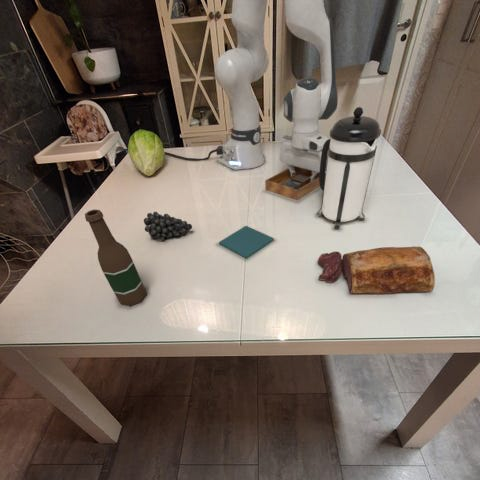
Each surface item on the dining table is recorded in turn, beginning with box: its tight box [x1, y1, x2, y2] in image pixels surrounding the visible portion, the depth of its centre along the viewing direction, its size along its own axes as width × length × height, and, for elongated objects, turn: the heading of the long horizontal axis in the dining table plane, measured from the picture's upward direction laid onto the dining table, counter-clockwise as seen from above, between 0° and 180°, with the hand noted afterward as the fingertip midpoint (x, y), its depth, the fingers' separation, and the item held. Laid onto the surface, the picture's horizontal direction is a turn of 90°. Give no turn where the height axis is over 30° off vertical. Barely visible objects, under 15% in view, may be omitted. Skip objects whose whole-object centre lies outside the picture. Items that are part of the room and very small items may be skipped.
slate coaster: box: [281, 180, 301, 190], centre depth 111 cm, size 6×6×2 cm
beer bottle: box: [84, 208, 148, 307], centre depth 70 cm, size 8×8×24 cm
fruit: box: [143, 211, 193, 242], centre depth 95 cm, size 9×8×15 cm
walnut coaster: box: [290, 173, 311, 187], centre depth 114 cm, size 6×6×2 cm
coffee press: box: [316, 106, 382, 230], centre depth 86 cm, size 17×16×30 cm
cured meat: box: [317, 246, 436, 295], centre depth 75 cm, size 18×25×7 cm
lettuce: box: [127, 128, 166, 177], centre depth 136 cm, size 15×24×16 cm
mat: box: [218, 225, 275, 259], centre depth 91 cm, size 12×12×1 cm
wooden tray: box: [264, 166, 321, 201], centre depth 112 cm, size 15×17×4 cm
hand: (302, 179), depth 114 cm, fingers open, 7 cm apart
